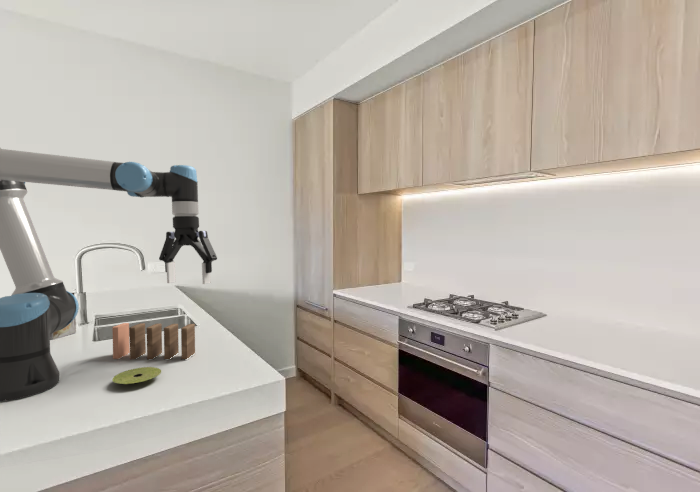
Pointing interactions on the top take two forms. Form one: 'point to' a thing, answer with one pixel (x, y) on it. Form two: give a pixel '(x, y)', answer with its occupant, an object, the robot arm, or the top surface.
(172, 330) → the domino
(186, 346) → the domino
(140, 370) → the green round flat disc
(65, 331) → the coffee box
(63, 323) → the robot arm
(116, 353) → the domino
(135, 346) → the domino
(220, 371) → the top surface
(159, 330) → the domino
